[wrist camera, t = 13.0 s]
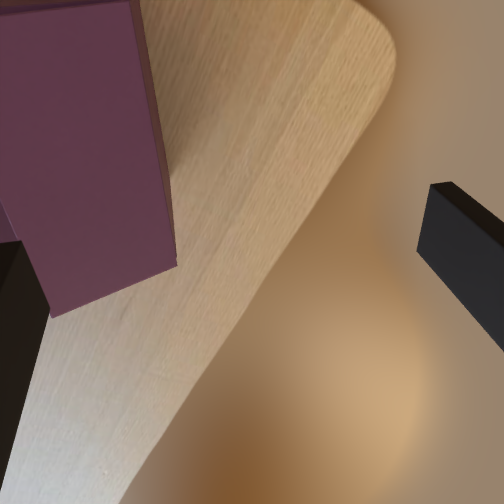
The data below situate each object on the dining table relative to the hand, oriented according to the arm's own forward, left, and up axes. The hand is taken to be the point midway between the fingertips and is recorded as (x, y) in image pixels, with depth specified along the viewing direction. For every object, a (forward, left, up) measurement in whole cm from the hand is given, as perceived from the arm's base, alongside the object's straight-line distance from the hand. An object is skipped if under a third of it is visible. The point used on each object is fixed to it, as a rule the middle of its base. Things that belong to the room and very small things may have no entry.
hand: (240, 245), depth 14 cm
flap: (-5, -2, -7) cm, 9 cm away
